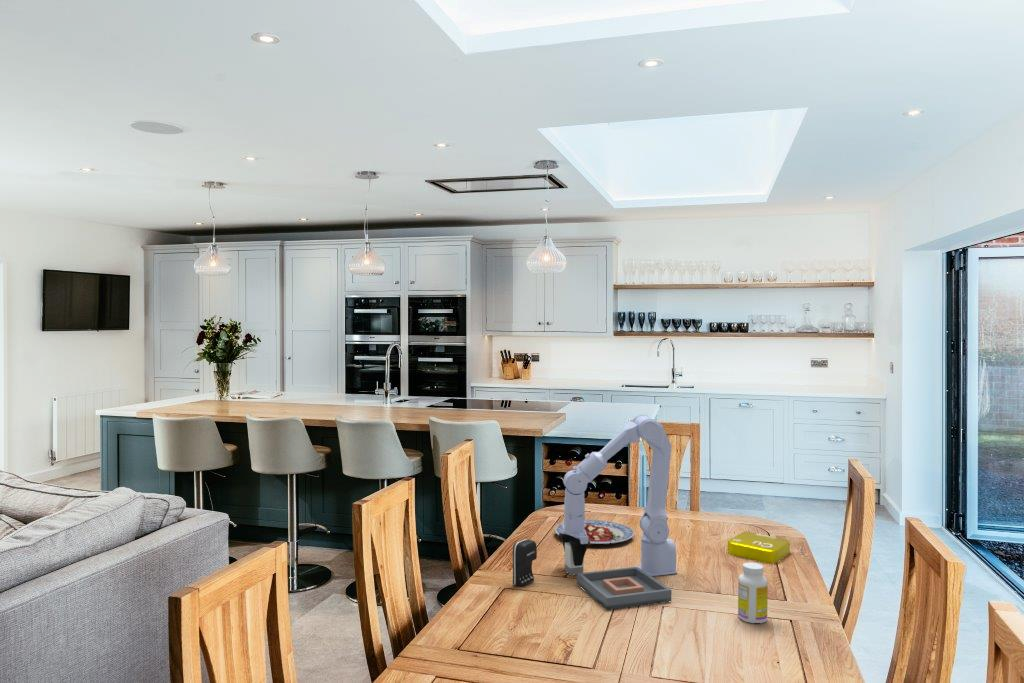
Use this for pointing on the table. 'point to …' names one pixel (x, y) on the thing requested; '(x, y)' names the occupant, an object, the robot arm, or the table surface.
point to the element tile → (759, 547)
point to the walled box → (623, 588)
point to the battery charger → (523, 561)
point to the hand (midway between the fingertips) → (573, 561)
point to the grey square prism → (571, 561)
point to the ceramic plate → (604, 532)
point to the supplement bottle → (752, 594)
